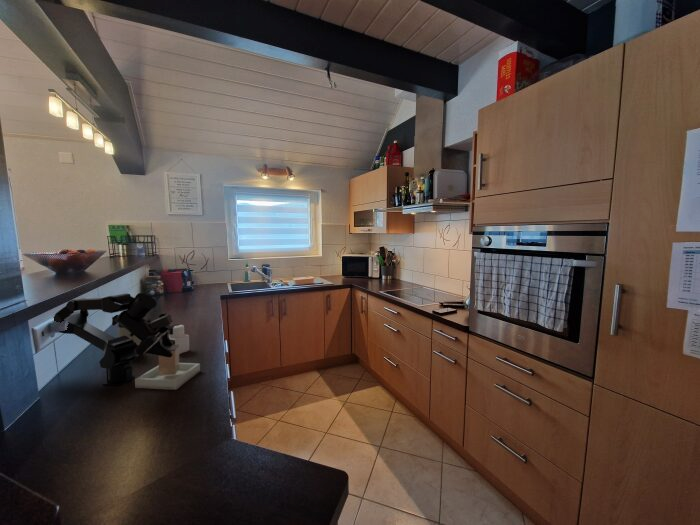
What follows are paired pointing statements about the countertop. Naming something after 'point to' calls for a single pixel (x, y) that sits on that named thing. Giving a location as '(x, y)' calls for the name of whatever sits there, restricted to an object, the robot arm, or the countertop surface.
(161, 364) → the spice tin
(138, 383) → the tray
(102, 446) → the countertop surface
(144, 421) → the countertop surface
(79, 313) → the robot arm
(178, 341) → the medicine bottle
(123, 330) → the travel mug
